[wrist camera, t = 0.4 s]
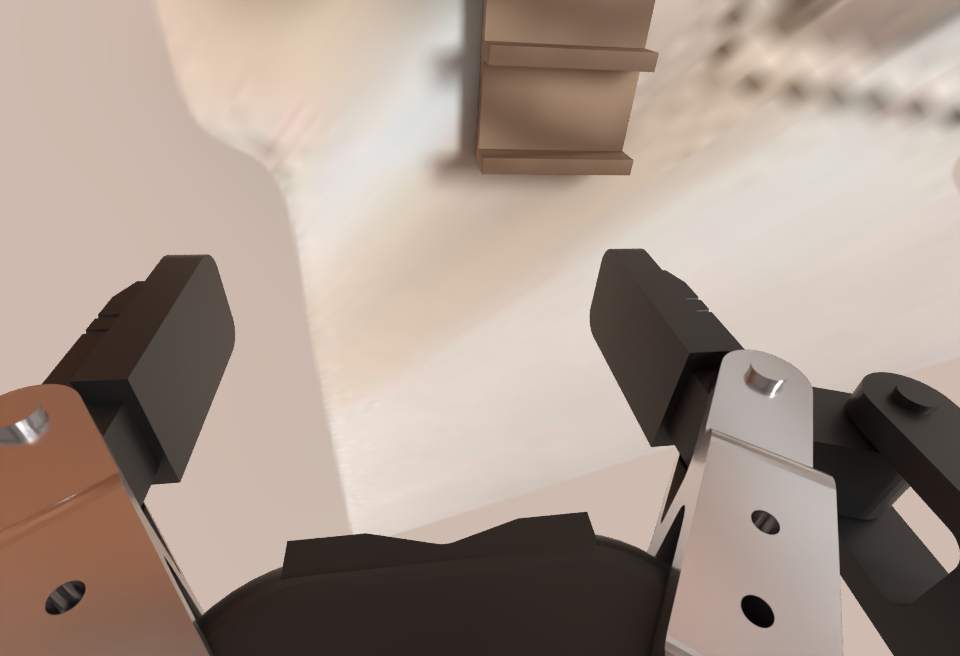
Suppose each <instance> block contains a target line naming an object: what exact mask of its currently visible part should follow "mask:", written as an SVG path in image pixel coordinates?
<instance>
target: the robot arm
mask: <svg viewBox="0 0 960 656" xmlns="http://www.w3.org/2000/svg"><path fill="white" fill-rule="evenodd" d="M98 316H99V317H98V319H94V321H93V322H92V323H91V324H90V326H89V327H88V328H87V329H86V334H82V335H81V337H80V338H79V339H78V340H77V342H76V343H75V344H74V345H73V347H72V348H71V349H70V350H69V351H68V353H67V354H66V355H65V356H64V358H63V359H62V360H61V361H60V362H59V364H58V365H57V366H56V367H55V369H54V370H53V371H52V372H51V374H50V375H49V376H48V377H47V379H46V380H45V381H44V382H43V383H42V385H35V386H29V387H25V388H21V389H17V390H14V391H11V392H8V393H6V394H3V395H1V396H0V656H843V637H842V612H841V590H840V575H841V577H842V578H843V580H844V581H845V582H846V584H847V586H848V587H849V588H850V590H851V592H852V593H853V594H854V596H855V598H856V599H857V601H858V602H859V604H860V605H861V607H862V608H863V610H864V611H865V613H866V614H867V616H868V617H869V619H870V620H871V622H872V623H873V625H874V626H875V628H876V629H877V631H878V632H879V634H880V636H881V637H882V639H883V640H884V642H885V643H886V645H887V646H888V648H889V649H890V651H891V652H892V654H893V655H894V656H960V561H959V564H958V566H957V567H956V568H955V569H954V570H953V571H952V572H950V573H949V574H948V573H947V571H946V570H945V569H944V568H943V566H942V565H941V564H940V563H939V562H938V561H937V559H936V558H935V557H934V556H933V554H932V553H931V552H930V551H929V550H928V548H927V547H926V546H925V545H924V544H923V542H922V541H921V540H920V539H919V538H918V536H917V535H916V534H915V533H914V532H913V531H912V529H911V528H910V527H909V526H908V525H907V523H906V522H905V521H904V520H903V519H902V517H901V516H900V515H899V514H898V513H897V511H896V510H895V509H894V508H893V507H892V504H893V503H894V502H895V501H896V500H897V499H898V498H899V497H900V496H901V495H902V494H903V493H904V492H905V491H906V490H907V489H908V488H909V487H910V486H911V487H912V488H913V490H914V491H915V492H916V493H917V494H918V495H919V496H920V497H921V498H922V500H923V501H924V502H925V503H926V504H927V505H928V506H929V507H930V508H931V510H932V511H933V512H934V513H935V514H936V515H937V516H938V517H939V518H940V519H941V521H942V522H943V523H944V524H945V525H946V526H947V527H948V528H949V530H950V531H951V532H952V533H953V535H954V536H955V538H956V540H957V542H958V545H959V549H960V408H959V407H958V406H957V405H956V404H954V403H953V402H952V401H951V400H950V399H948V398H947V397H946V396H944V395H943V394H941V393H940V392H938V391H937V390H935V389H933V388H931V387H930V386H928V385H926V384H924V383H921V382H919V381H917V380H914V379H912V378H909V377H906V376H902V375H898V374H893V373H886V372H877V373H871V374H869V375H867V376H865V377H864V378H863V380H862V381H861V383H860V384H859V385H858V387H857V388H856V390H855V391H854V392H853V394H851V393H845V392H839V391H834V390H828V389H822V388H816V387H812V386H811V383H810V382H809V380H808V379H807V377H806V376H805V375H804V374H803V373H802V372H801V371H800V370H798V369H797V368H796V367H794V366H793V365H792V364H790V363H788V362H787V361H785V360H783V359H781V358H779V357H776V356H774V355H771V354H768V353H765V352H761V351H756V350H745V349H744V348H743V347H742V346H741V345H740V344H739V342H738V341H737V340H736V339H735V338H734V337H733V336H732V335H731V333H730V332H729V331H728V330H727V329H726V328H725V327H724V326H723V324H722V323H721V322H720V321H719V320H718V319H717V318H716V317H715V315H714V314H713V313H712V312H709V309H708V308H707V306H706V305H705V304H704V303H703V302H702V301H701V300H698V296H697V295H696V294H695V293H694V292H693V291H692V289H691V288H690V287H689V286H688V285H687V284H686V283H685V282H684V281H682V280H680V279H679V278H677V277H675V276H674V275H672V274H671V273H669V272H667V271H666V270H662V269H661V268H660V267H659V266H658V265H657V264H656V262H655V261H654V260H653V259H652V258H651V257H650V255H649V254H648V253H647V252H646V251H645V250H644V249H609V250H607V251H606V252H605V254H604V256H603V258H602V262H601V266H600V270H599V275H598V279H597V283H596V287H595V292H594V296H593V300H592V304H591V309H590V327H591V331H592V334H593V337H594V339H595V341H596V342H597V344H598V346H599V348H600V350H601V352H602V354H603V356H604V358H605V360H606V362H607V363H608V365H609V367H610V369H611V371H612V373H613V375H614V377H615V379H616V381H617V383H618V385H619V386H620V388H621V390H622V392H623V394H624V396H625V398H626V400H627V402H628V404H629V406H630V407H631V409H632V411H633V413H634V415H635V417H636V419H637V421H638V423H639V425H640V427H641V428H642V430H643V432H644V434H645V436H646V438H647V440H648V442H649V444H650V446H651V447H657V446H669V445H675V446H676V448H677V450H678V451H679V454H678V456H677V458H676V461H675V463H674V465H673V469H672V472H671V475H670V479H669V482H668V486H667V489H666V493H665V496H664V500H663V503H662V506H661V510H660V513H659V517H658V520H657V523H656V527H655V530H654V534H653V537H652V540H651V543H650V546H649V548H648V551H647V552H645V551H643V550H641V549H639V548H637V547H635V546H632V545H630V544H627V543H624V542H622V541H619V540H616V539H612V538H609V537H605V536H601V535H595V533H594V530H593V528H592V525H591V522H590V519H589V516H588V513H587V512H580V513H570V514H560V515H550V516H540V517H529V518H519V519H516V520H513V521H511V522H508V523H505V524H502V525H500V526H497V527H494V528H491V529H489V530H486V531H483V532H481V533H478V534H475V535H472V536H469V537H467V538H464V539H461V540H459V541H456V542H453V543H449V544H433V543H427V542H420V541H414V540H407V539H400V538H392V537H386V536H380V535H373V534H356V535H346V536H336V537H326V538H315V539H306V540H295V541H287V547H286V553H285V557H284V563H283V567H281V568H278V569H276V570H273V571H270V572H268V573H266V574H264V575H262V576H260V577H258V578H256V579H254V580H251V581H250V582H248V583H246V584H245V585H243V586H241V587H240V588H238V589H236V590H235V591H233V592H231V593H230V594H229V595H227V596H226V597H225V598H223V599H222V600H221V601H219V602H218V603H217V604H215V605H214V606H212V607H211V608H210V609H209V610H208V611H207V612H206V613H204V611H203V609H202V608H201V606H200V604H199V602H198V601H197V599H196V597H195V595H194V594H193V592H192V590H191V588H190V586H189V585H188V583H187V581H186V579H185V577H184V575H183V573H182V571H181V569H180V568H179V566H178V564H177V562H176V560H175V558H174V556H173V554H172V553H171V551H170V549H169V547H168V545H167V543H166V541H165V539H164V537H163V536H162V534H161V532H160V530H159V528H158V526H157V524H156V522H155V521H154V519H153V517H152V515H151V513H150V511H149V509H148V508H147V506H146V505H145V503H144V499H145V497H146V495H147V493H148V490H149V488H150V486H151V485H152V484H166V483H178V482H180V481H181V479H182V476H183V474H184V471H185V469H186V466H187V464H188V461H189V459H190V456H191V454H192V451H193V449H194V446H195V444H196V441H197V438H198V436H199V434H200V431H201V429H202V426H203V423H204V421H205V419H206V416H207V414H208V411H209V409H210V406H211V404H212V401H213V399H214V396H215V394H216V391H217V389H218V386H219V384H220V381H221V379H222V376H223V374H224V371H225V368H226V366H227V364H228V361H229V359H230V356H231V353H232V351H233V348H234V342H235V327H234V321H233V317H232V315H231V311H230V308H229V304H228V301H227V298H226V294H225V291H224V288H223V284H222V282H221V278H220V274H219V271H218V268H217V265H216V263H215V261H214V259H213V258H212V256H210V255H166V256H164V257H163V258H162V259H161V260H160V262H159V263H158V264H157V266H156V267H155V269H154V270H153V271H152V272H151V274H150V275H149V276H148V278H147V279H146V281H137V282H135V283H134V284H132V285H131V286H129V287H128V288H126V289H124V290H123V291H121V292H120V293H118V294H117V295H115V296H114V297H112V299H111V300H110V301H109V302H108V303H107V305H106V306H105V307H104V308H103V310H102V311H101V312H100V313H99V314H98Z"/></svg>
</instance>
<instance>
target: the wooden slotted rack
mask: <svg viewBox="0 0 960 656" xmlns="http://www.w3.org/2000/svg"><path fill="white" fill-rule="evenodd" d="M654 4H655V0H484V3H483V22H482V42H481V62H480V82H479V102H478V122H477V142H476V160H477V163H478V165H479V167H480V170H481V172H482V174H548V175H630V173H631V168H632V164H633V159H631V158H630V157H629V156H628V155H626V154H625V153H624V152H623V151H622V149H623V145H624V140H625V136H626V131H627V126H628V122H629V117H630V113H631V108H632V104H633V99H634V95H635V90H636V85H637V81H638V76H639V72H640V71H642V72H654V71H655V66H656V62H657V58H658V54H659V53H657V52H654V51H651V50H648V49H645V45H646V40H647V35H648V31H649V26H650V22H651V17H652V13H653V8H654Z"/></svg>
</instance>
